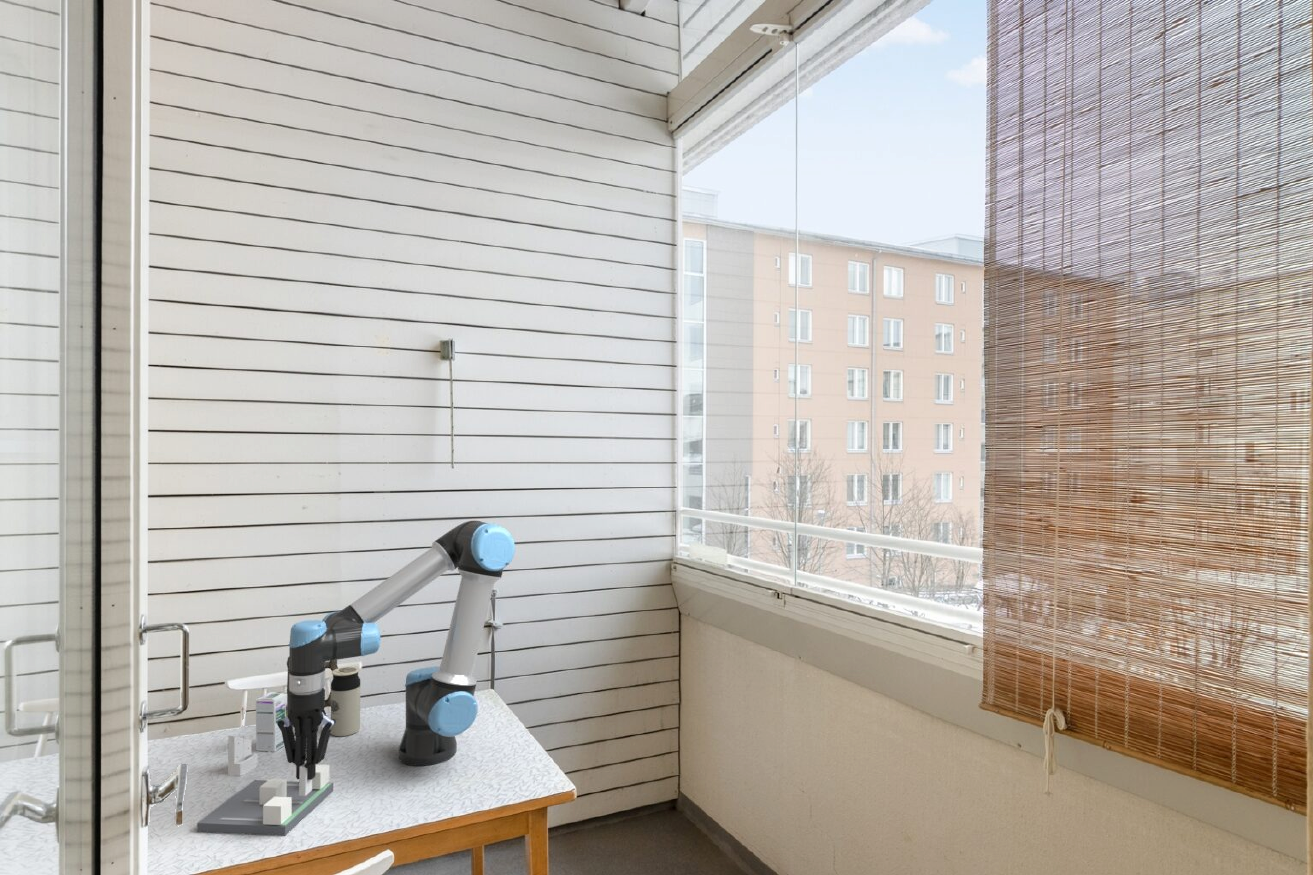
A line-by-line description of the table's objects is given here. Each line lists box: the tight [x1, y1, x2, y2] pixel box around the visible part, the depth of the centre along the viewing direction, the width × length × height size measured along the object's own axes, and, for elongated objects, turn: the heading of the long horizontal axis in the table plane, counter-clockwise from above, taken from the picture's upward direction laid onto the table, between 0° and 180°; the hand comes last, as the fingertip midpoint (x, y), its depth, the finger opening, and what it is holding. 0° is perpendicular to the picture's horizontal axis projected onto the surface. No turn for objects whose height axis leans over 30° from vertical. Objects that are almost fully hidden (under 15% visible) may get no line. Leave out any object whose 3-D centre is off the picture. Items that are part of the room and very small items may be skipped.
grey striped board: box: [196, 779, 334, 837], centre depth 166 cm, size 20×20×2 cm
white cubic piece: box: [312, 764, 330, 789], centre depth 173 cm, size 4×4×4 cm
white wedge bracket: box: [227, 735, 258, 777], centre depth 185 cm, size 4×10×9 cm, turn 168°
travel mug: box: [330, 666, 361, 737], centre depth 211 cm, size 8×8×18 cm
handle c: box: [263, 797, 292, 825], centre depth 157 cm, size 4×4×4 cm
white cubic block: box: [259, 778, 288, 805], centre depth 166 cm, size 4×4×4 cm
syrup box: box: [255, 691, 287, 753], centre depth 200 cm, size 6×6×14 cm
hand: (305, 792), depth 165 cm, fingers closed
